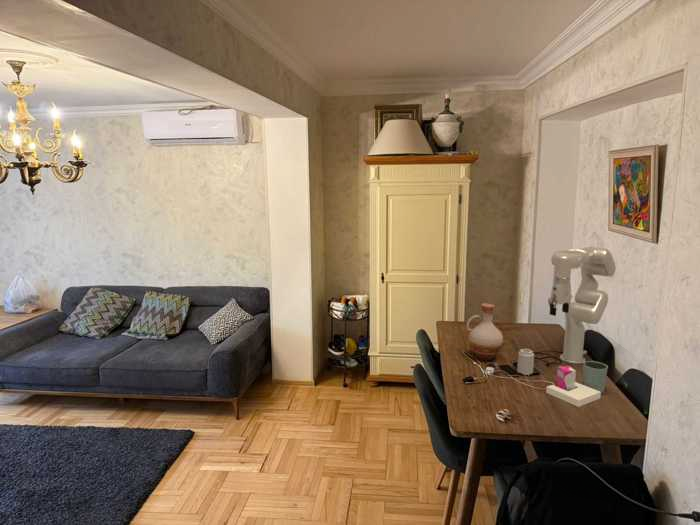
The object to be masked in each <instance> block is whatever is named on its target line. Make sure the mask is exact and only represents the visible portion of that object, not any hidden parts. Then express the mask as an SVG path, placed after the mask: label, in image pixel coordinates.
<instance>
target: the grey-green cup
mask: <svg viewBox="0 0 700 525" xmlns="http://www.w3.org/2000/svg"><path fill="white" fill-rule="evenodd" d="M582 364H583V365H582V366H583V385H585V386H587V387H590V388H592V389H595V390H597V391H600V392H601V394H603V393H604V392H605V387H606V379H607V374H608V369H609V366H608V365H607V364H605V363H603V362H601V361H595V360H587V361H586V360H585V362H584V363H582Z"/></svg>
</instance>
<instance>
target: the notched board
mask: <svg viewBox="0 0 700 525" xmlns="http://www.w3.org/2000/svg"><path fill="white" fill-rule="evenodd" d="M545 391H546V394H548V395H550V396H552V397H554V398H558V399H560V400H561V401H564V402H566V403H568V404H570V405H572V406H575V407H577V408H579V407H582V406H584V405H587V404H590V403H592V402H595V401H598V400H600V399H601V397H602V396H601V395H602V393H601V392H600V391H597V390H595V389H592V388H590V387H587V386H585V385H584V384H582V383H579V382H577V381H575V389H573V390H570V391H566V390H564V389H561V388H559V387H557V385H554V384H551V385H548V386H546V390H545Z"/></svg>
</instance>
